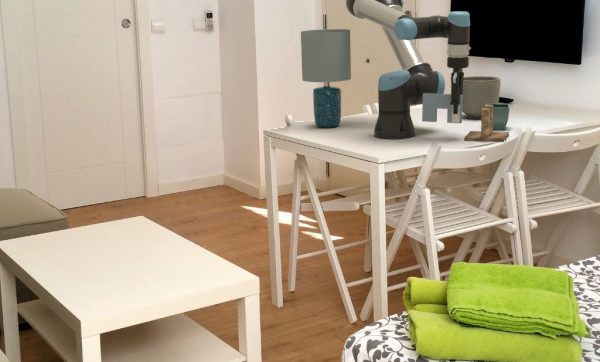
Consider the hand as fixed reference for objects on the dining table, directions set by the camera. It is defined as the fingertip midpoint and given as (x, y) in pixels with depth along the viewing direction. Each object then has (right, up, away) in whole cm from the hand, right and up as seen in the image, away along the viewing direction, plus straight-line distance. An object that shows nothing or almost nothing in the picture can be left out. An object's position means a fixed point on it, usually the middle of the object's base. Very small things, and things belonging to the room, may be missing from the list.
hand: (456, 121), depth 321 cm
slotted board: (-5, 0, +2) cm, 5 cm away
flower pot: (+19, -2, +18) cm, 26 cm away
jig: (+11, -6, +1) cm, 13 cm away
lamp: (-45, 0, +36) cm, 58 cm away
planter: (+17, +4, +45) cm, 48 cm away
